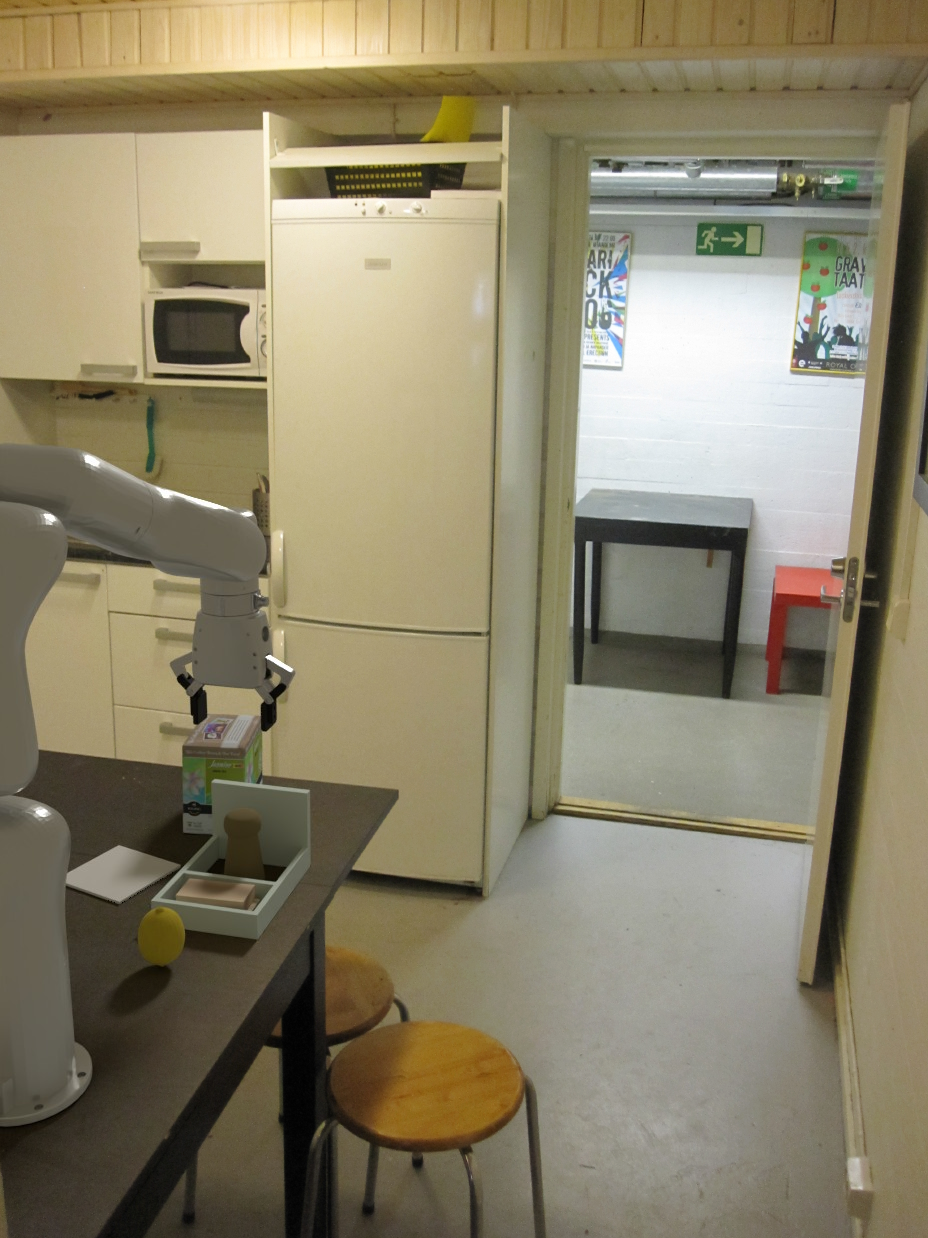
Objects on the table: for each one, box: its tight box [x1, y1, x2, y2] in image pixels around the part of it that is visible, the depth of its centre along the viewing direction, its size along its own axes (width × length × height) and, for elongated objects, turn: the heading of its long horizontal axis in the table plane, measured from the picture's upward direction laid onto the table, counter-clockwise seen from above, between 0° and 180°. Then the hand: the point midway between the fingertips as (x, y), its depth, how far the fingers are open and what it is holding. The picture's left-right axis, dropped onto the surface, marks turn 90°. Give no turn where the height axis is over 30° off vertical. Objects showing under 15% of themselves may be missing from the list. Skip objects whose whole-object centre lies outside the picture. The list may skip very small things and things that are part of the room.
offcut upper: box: [176, 878, 255, 910], centre depth 142 cm, size 5×9×2 cm, turn 82°
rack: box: [150, 779, 312, 940], centre depth 147 cm, size 20×15×12 cm
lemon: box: [137, 906, 186, 967], centre depth 130 cm, size 6×6×8 cm
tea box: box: [181, 713, 263, 835], centre depth 171 cm, size 15×10×15 cm
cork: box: [223, 808, 267, 881], centre depth 150 cm, size 6×6×11 cm
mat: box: [66, 844, 182, 905], centre depth 153 cm, size 12×12×1 cm
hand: (233, 724), depth 145 cm, fingers open, 9 cm apart
